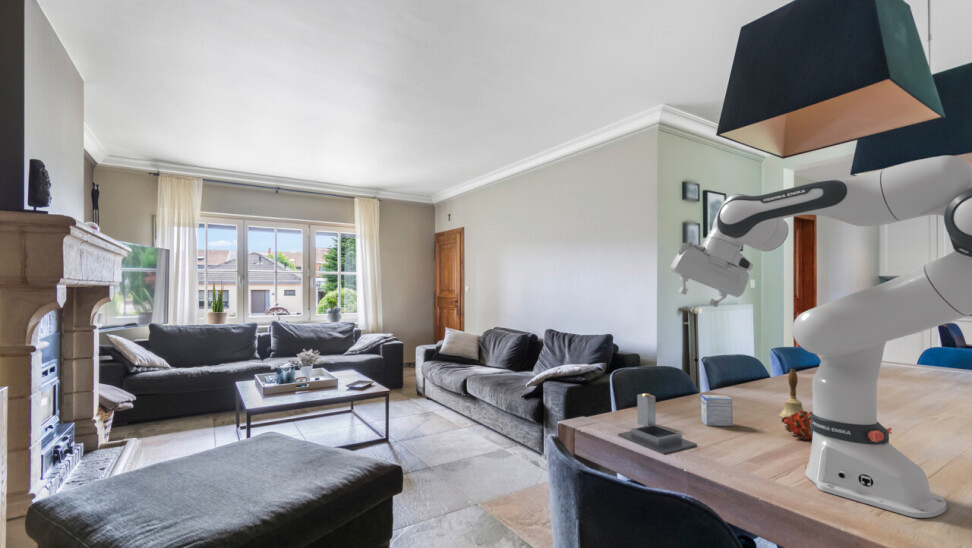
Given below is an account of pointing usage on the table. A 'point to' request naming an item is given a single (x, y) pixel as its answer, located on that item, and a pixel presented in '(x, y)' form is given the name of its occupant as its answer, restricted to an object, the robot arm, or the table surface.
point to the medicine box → (716, 410)
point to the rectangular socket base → (658, 439)
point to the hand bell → (792, 397)
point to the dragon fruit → (799, 424)
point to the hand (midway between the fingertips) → (697, 299)
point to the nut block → (646, 409)
